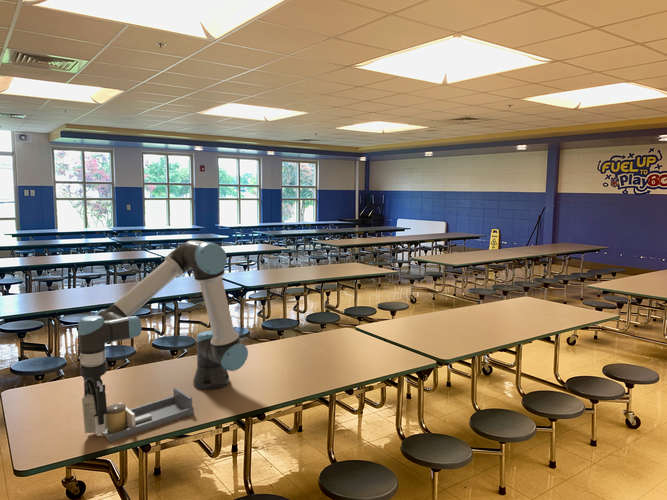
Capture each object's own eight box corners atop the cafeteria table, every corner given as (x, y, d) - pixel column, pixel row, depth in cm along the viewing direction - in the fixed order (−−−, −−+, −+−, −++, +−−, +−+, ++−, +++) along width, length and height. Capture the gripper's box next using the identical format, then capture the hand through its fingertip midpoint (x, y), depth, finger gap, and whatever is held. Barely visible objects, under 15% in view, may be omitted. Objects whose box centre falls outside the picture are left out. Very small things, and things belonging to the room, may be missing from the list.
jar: (104, 428, 164) (103, 407, 163) (122, 422, 168) (121, 401, 167) (110, 435, 160) (109, 413, 159) (129, 429, 164) (128, 407, 163)
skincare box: (108, 426, 161) (107, 392, 160) (103, 433, 157) (101, 398, 156) (89, 426, 161) (87, 392, 160) (83, 433, 157) (81, 398, 155)
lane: (94, 426, 166) (93, 410, 165) (175, 401, 187) (174, 386, 186) (110, 442, 155) (109, 425, 155) (193, 414, 176) (193, 398, 176)
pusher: (118, 419, 170) (118, 403, 170) (143, 411, 177) (142, 396, 176) (132, 431, 162) (132, 415, 161) (158, 423, 168) (157, 406, 167)
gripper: (71, 358, 161) (75, 421, 163) (91, 374, 147) (95, 443, 149) (94, 353, 166) (97, 415, 169) (116, 368, 152) (119, 435, 155)
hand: (96, 428), depth 159 cm, fingers closed on skincare box, 7 cm apart
